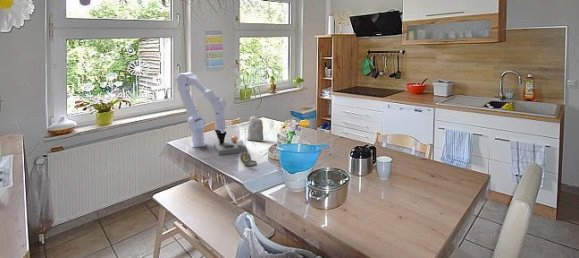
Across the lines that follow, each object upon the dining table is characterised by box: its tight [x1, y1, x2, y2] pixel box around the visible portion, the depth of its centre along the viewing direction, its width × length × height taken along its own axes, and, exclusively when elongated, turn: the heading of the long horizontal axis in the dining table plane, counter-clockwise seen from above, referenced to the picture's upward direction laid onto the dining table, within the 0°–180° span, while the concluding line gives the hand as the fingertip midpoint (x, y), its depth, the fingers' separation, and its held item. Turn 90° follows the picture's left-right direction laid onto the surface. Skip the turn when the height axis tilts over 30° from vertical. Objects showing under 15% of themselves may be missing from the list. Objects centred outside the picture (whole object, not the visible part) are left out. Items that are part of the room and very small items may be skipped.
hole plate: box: [212, 140, 248, 156], centre depth 219 cm, size 17×16×2 cm
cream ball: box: [236, 138, 244, 146], centre depth 215 cm, size 4×4×4 cm
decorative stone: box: [246, 115, 264, 142], centre depth 235 cm, size 11×6×15 cm, turn 58°
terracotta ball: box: [230, 135, 239, 142], centre depth 223 cm, size 4×4×4 cm
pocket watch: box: [239, 148, 257, 167], centre depth 191 cm, size 8×8×10 cm
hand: (221, 142), depth 221 cm, fingers closed on steel ball, 4 cm apart
